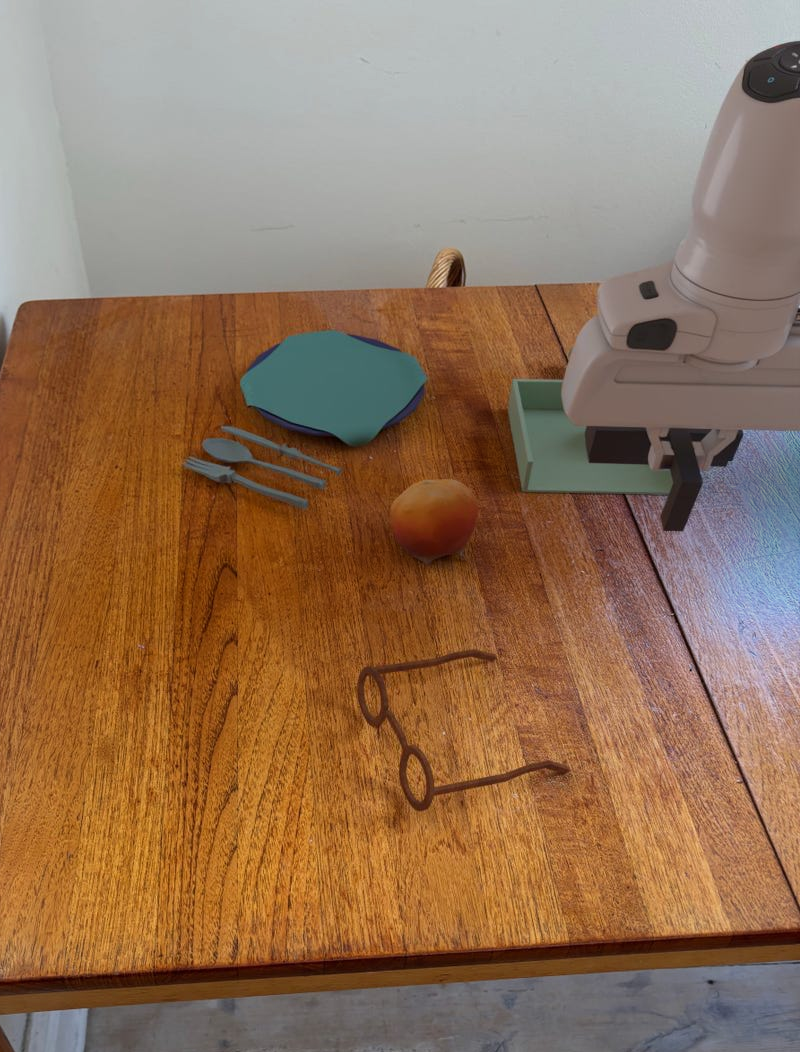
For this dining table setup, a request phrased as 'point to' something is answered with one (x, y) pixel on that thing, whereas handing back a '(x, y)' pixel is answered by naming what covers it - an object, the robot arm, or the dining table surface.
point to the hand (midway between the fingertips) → (676, 466)
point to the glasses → (416, 751)
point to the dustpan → (566, 449)
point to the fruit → (434, 518)
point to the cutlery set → (319, 400)
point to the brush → (685, 471)
